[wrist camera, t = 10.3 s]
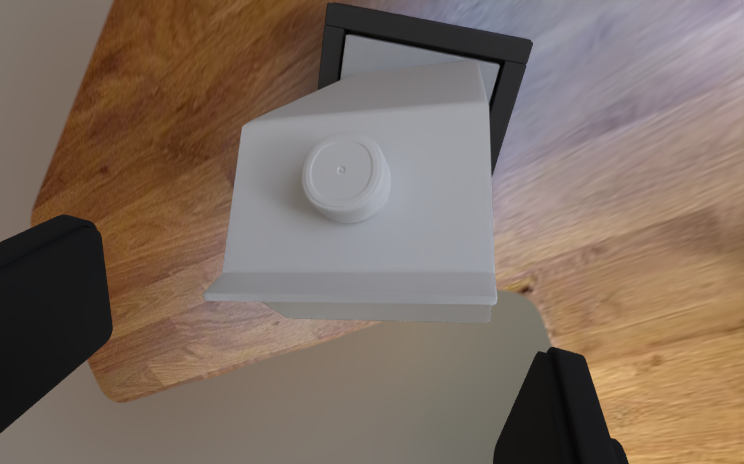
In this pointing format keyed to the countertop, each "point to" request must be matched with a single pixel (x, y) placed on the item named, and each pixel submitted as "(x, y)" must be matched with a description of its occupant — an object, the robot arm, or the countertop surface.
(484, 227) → the milk carton
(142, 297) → the countertop surface
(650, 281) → the countertop surface
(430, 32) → the scale
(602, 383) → the countertop surface
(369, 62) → the scale pan
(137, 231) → the countertop surface
